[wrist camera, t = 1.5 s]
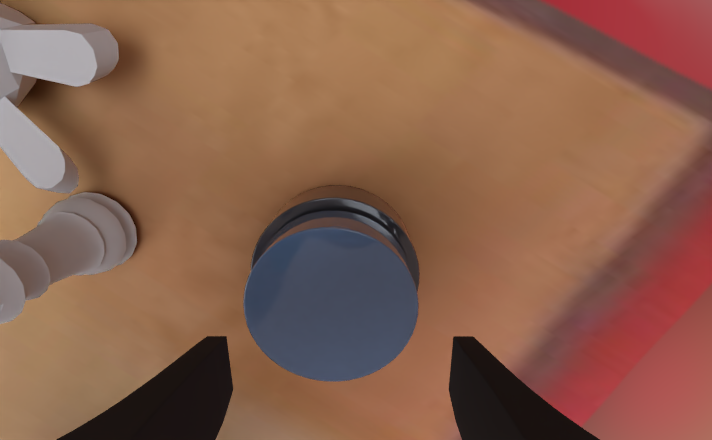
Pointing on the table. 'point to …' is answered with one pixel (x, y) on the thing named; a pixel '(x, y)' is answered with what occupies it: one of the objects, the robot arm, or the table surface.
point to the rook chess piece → (64, 248)
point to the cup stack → (333, 285)
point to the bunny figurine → (53, 63)
